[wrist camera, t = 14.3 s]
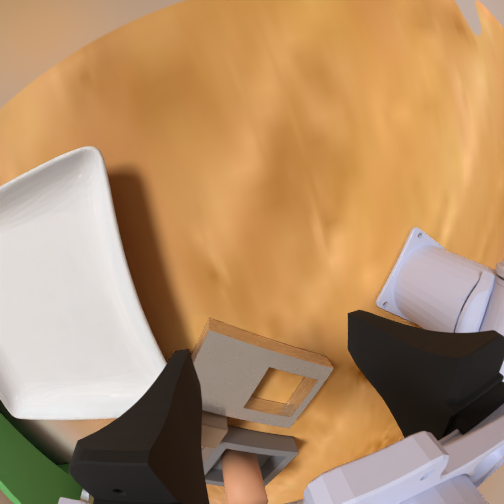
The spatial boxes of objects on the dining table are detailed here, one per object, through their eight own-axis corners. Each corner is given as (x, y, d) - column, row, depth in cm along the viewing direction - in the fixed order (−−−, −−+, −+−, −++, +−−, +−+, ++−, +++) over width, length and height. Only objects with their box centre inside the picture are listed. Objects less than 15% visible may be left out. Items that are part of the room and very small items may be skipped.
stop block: (224, 405, 25) (228, 430, 22) (213, 423, 26) (215, 448, 22) (174, 390, 24) (172, 416, 21) (165, 410, 24) (163, 435, 21)
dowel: (261, 446, 27) (274, 495, 20) (249, 464, 28) (260, 510, 21) (225, 443, 26) (233, 495, 19) (216, 461, 27) (222, 510, 20)
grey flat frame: (325, 356, 25) (334, 368, 23) (284, 414, 27) (289, 428, 25) (208, 317, 23) (209, 329, 21) (176, 387, 24) (174, 402, 22)
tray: (293, 436, 28) (299, 452, 25) (257, 475, 29) (260, 490, 27) (218, 423, 26) (220, 441, 23) (190, 465, 27) (191, 480, 25)
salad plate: (114, 143, 18) (97, 137, 15) (190, 388, 24) (189, 413, 21) (-51, 224, 16) (-72, 230, 13) (24, 401, 22) (13, 419, 19)
